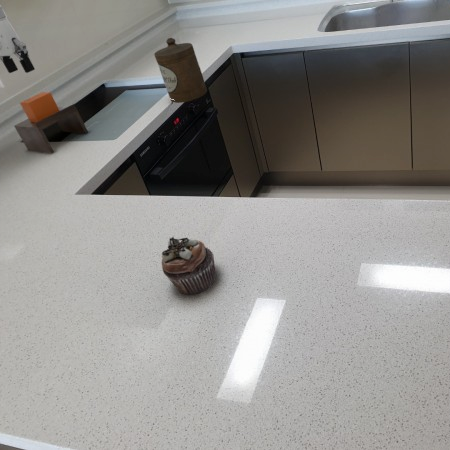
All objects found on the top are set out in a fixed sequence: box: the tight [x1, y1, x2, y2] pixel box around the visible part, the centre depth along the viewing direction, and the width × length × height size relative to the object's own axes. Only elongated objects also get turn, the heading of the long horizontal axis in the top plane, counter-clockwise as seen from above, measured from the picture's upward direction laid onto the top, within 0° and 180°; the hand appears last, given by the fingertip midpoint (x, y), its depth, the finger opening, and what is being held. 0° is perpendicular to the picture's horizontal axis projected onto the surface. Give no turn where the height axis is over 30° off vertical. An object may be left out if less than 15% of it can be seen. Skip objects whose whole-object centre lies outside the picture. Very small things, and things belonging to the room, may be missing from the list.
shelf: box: [13, 103, 89, 154], centre depth 164 cm, size 14×16×11 cm
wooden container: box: [153, 37, 208, 104], centre depth 176 cm, size 15×15×22 cm
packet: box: [19, 91, 60, 122], centre depth 159 cm, size 5×9×7 cm, turn 151°
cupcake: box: [161, 236, 217, 296], centre depth 86 cm, size 10×10×10 cm
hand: (21, 71), depth 152 cm, fingers open, 9 cm apart
